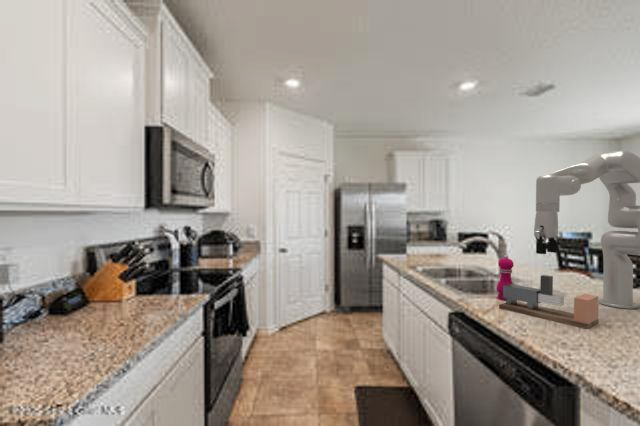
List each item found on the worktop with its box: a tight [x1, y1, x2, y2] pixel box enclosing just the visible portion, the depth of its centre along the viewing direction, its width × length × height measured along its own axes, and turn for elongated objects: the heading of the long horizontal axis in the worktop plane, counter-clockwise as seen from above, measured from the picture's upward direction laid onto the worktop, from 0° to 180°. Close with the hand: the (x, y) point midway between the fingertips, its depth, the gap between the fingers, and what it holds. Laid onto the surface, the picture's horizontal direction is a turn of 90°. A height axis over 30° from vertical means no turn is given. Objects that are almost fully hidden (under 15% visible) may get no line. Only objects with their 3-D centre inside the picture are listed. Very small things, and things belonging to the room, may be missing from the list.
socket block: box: [573, 293, 599, 324], centre depth 119 cm, size 10×4×8 cm, turn 125°
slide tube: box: [537, 274, 565, 307], centre depth 133 cm, size 3×19×10 cm, turn 35°
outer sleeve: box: [503, 283, 542, 310], centre depth 137 cm, size 5×12×8 cm, turn 35°
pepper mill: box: [496, 254, 515, 301], centre depth 153 cm, size 7×7×20 cm
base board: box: [498, 301, 600, 329], centre depth 130 cm, size 11×30×2 cm, turn 35°
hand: (546, 253), depth 129 cm, fingers open, 9 cm apart
